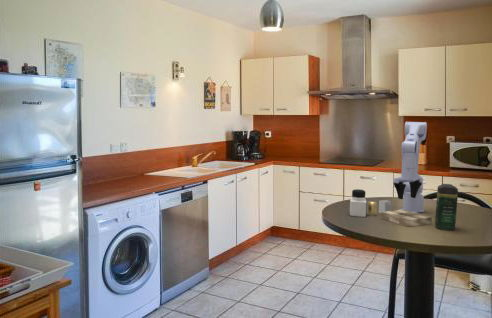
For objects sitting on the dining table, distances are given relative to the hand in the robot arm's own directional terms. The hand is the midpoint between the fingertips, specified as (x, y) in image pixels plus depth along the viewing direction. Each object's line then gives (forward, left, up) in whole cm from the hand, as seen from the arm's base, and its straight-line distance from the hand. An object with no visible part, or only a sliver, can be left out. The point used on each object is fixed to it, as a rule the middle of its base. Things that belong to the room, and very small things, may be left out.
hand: (406, 198), depth 196 cm
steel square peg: (-3, -16, -10) cm, 19 cm away
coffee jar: (-7, +15, -11) cm, 20 cm away
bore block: (0, 0, -10) cm, 10 cm away
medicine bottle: (+12, -18, -11) cm, 24 cm away
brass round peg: (+5, -16, -10) cm, 20 cm away
